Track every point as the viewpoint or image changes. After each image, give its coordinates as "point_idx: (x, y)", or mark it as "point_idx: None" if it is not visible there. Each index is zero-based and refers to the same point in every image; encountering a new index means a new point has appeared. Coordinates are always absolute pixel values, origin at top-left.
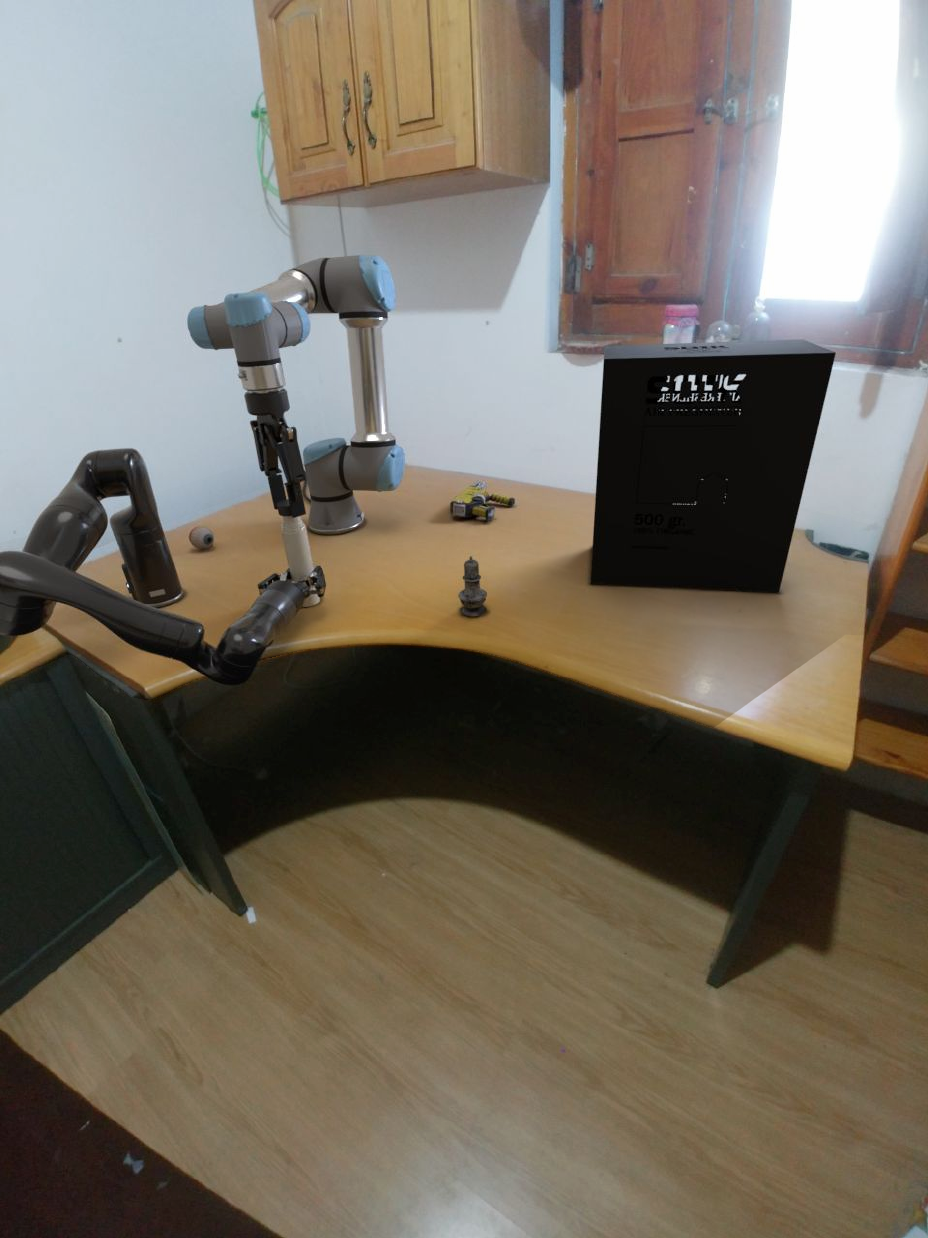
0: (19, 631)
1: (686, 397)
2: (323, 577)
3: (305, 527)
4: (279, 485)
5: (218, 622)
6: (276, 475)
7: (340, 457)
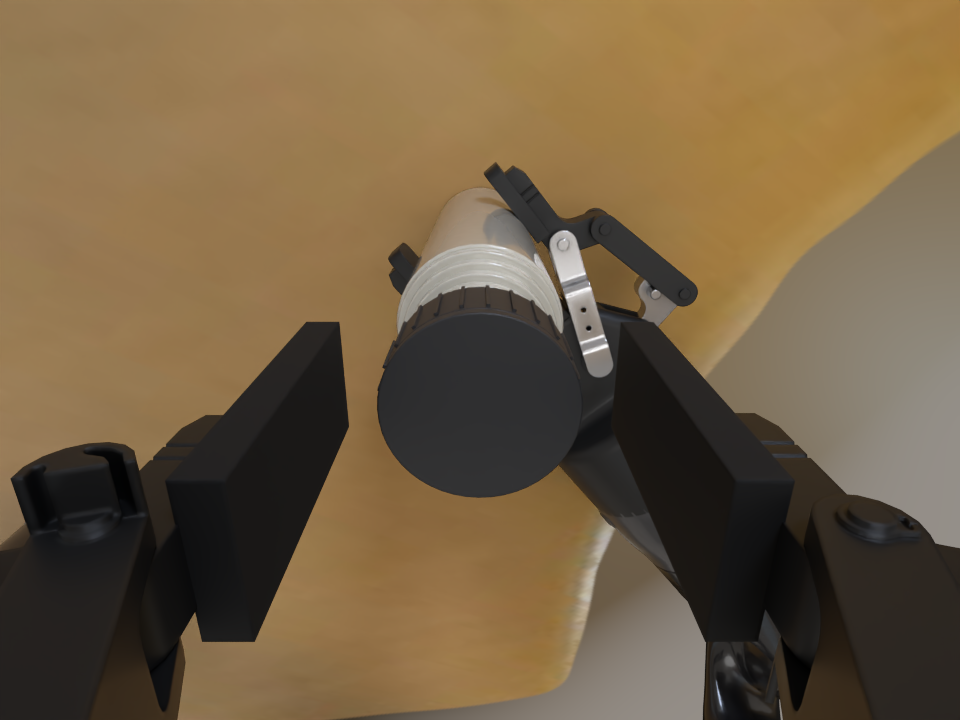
0: None
1: None
2: (636, 237)
3: (530, 263)
4: (280, 461)
5: (387, 496)
6: (195, 535)
7: None
